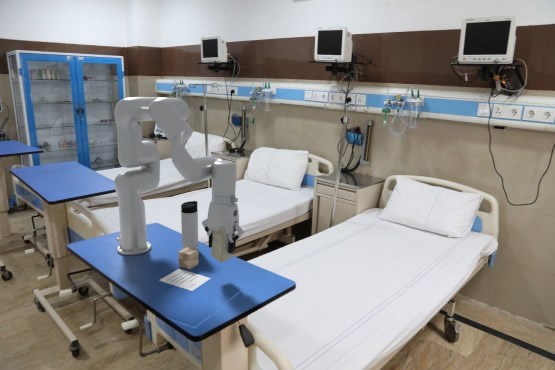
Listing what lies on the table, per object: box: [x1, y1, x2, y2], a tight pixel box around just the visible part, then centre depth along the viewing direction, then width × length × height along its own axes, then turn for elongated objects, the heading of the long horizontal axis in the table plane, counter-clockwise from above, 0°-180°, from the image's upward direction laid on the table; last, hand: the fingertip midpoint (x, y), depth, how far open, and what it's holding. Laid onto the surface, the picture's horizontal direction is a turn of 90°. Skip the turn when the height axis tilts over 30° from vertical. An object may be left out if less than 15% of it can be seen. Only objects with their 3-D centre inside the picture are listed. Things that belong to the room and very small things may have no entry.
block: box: [177, 247, 199, 270], centre depth 143 cm, size 5×5×6 cm
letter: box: [158, 268, 212, 292], centre depth 133 cm, size 14×10×1 cm
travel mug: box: [180, 200, 199, 251], centre depth 154 cm, size 6×7×20 cm
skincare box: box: [210, 227, 233, 263], centre depth 132 cm, size 6×4×12 cm
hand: (221, 248), depth 132 cm, fingers closed on skincare box, 7 cm apart
